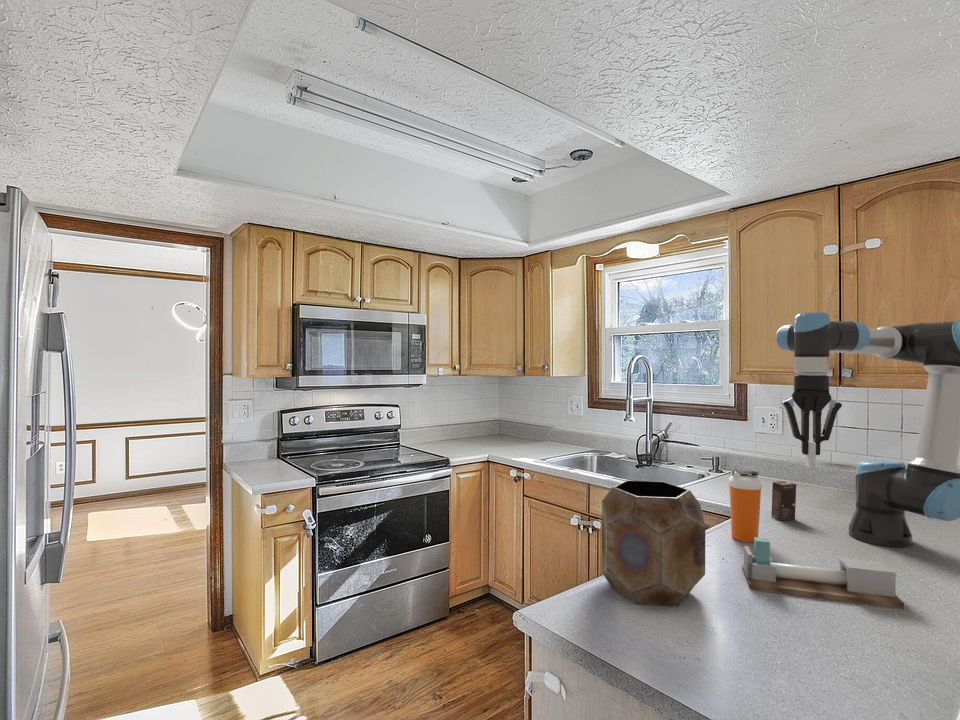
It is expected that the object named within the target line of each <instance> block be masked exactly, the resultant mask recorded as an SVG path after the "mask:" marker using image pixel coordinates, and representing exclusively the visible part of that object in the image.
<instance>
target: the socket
mask: <svg viewBox="0 0 960 720" xmlns="http://www.w3.org/2000/svg"><path fill="white" fill-rule="evenodd" d="M772 561H773V559H772V557H770V562H771V563H773V562H772ZM743 565H744V571H745V573H746V576H747V578H748V579H755V580H763V581H771V582H776V566H774V565H766V564H757V563H754V555H753V553H752V552H751V549H750V546H747V545H744V546H743Z"/></svg>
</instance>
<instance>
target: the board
mask: <svg viewBox="0 0 960 720" xmlns="http://www.w3.org/2000/svg"><path fill="white" fill-rule="evenodd" d="M741 569H742V572H743V575H744V578H745V580H746V583H747V586H748V588H749V590H755V591H763V592H770V593H778V594H786V595H792V596H800V597H808V598H817V599H823V600H831V601H839V602H847V603H854V604H855V603H856V604H862V605H869V606H878V607H886V608H892V609H893V608H894V609H901V610H905V603H904V602H903V600H902V599H900V598H899V596H897V595H896V594H895V597H892V596H884V595H876V594H868V593H860V592H852V591H847V586H845V585H837V584H829V583H821V582H812V581H804V580H796V579H788V578H779V577H776V582H771V581H763V580H755V579H748V578H747V576H746V573H745V571H744V564H742V565H741Z"/></svg>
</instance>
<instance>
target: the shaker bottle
mask: <svg viewBox="0 0 960 720" xmlns="http://www.w3.org/2000/svg"><path fill="white" fill-rule="evenodd" d="M759 474H760V472H759V471H755V470H754V471H753V470H741V471H740V470H738V469H733V470H732V471H731V476H730V477H729V478H728V486H729V503H730V505H729V506H730V508H729V509H730V510H729V511H730V525H731V526H730V527H731V529H730V530H731V537H732V539H733V540H736V541H738V542H744V543H754V537H759V532H760V531H759V530H760V529H759V527H760V514H761V511H760V510H761V496H762V494H761V493H762V489H763V482H762V480H761V479H760V478H759V477H758V475H759Z"/></svg>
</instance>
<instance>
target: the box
mask: <svg viewBox="0 0 960 720" xmlns="http://www.w3.org/2000/svg"><path fill="white" fill-rule="evenodd" d="M771 488H772V491H771V492H772V493H771V495H772V496H771V518H772V519H775V520H778V521H788V520H789V521H790V520H791V521H792V520H796V502H797V484H796V483H793V482H790V481H788V480H786V481H785V480H783V481H780V480H779V481H773V482H772V487H771Z"/></svg>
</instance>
